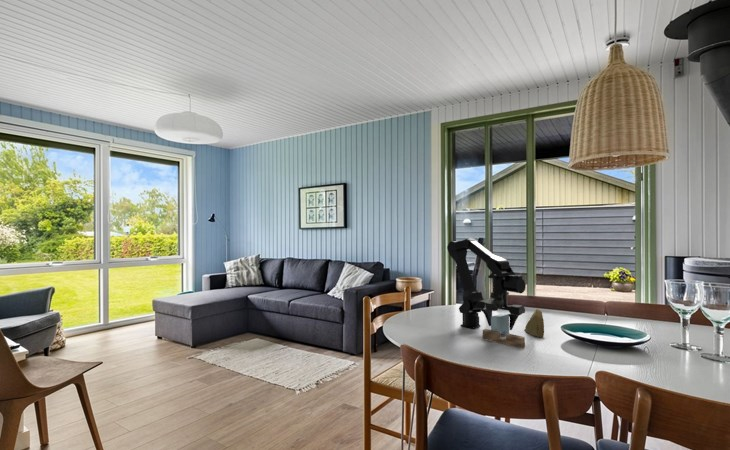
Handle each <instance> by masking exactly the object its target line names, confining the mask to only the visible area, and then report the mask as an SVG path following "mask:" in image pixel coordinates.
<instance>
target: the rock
mask: <svg viewBox="0 0 730 450" xmlns="http://www.w3.org/2000/svg"><path fill="white" fill-rule="evenodd" d="M543 317H544V316H543V312H542V311H541V310H540V309H535V311H534V312H533V313H532V315H531V316H530V318H529V319H528V321H527V323H526V325H525V328H524V331H525V333H528V334H529V335H531V336H535V337H537V338H544V336H545V335H544V334H545V325H544V324H545V323H544V321H545V320H544V318H543Z"/></svg>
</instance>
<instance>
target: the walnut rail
mask: <svg viewBox="0 0 730 450" xmlns="http://www.w3.org/2000/svg"><path fill="white" fill-rule="evenodd" d="M481 331H482V333H481V334H482V340H486V341H490V342H494V343H495V342H496V343H498V344H499V343H500V344H503V345H508V346H512V347H516V348H520V349H522V348H525V346H526V342H525V341H526V338H525V336H522V335H516V334H512V333H508V334H506V335H505V337H502V336H501V337H500V332H498V331H494V330H491V329H487V328H483V329H482V330H481Z"/></svg>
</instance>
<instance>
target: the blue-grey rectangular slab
mask: <svg viewBox="0 0 730 450" xmlns="http://www.w3.org/2000/svg"><path fill="white" fill-rule="evenodd" d="M508 314H509V313H506V312H502V313H498V314H496V315H492V317H491V326H490V330H494V331H498V332H500V337H502V335H505V336H506V335H507V334H510V327H509V325H510V317H509V315H508Z"/></svg>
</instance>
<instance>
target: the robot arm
mask: <svg viewBox="0 0 730 450" xmlns="http://www.w3.org/2000/svg"><path fill="white" fill-rule="evenodd" d="M446 247H447V248H446V249H447V251H448V254H449V256H450V258H452V259H453V260H454V262H455V266H456V269H457V272H458V275H459V279H460V281H461V285H462V289H463V295H462V301H463V302H462V304H461V305H460V306H459V307H458V310H459V313H460V314H462V316H461V317H462V324H460V327H464V328H470V329H475V328H479V327H481V324H480V316H479V313H483V314H484V317H485V319H486V321H487V322H486V323H487V324H488V326H489V327H491V317H492V316H493V312H496V311H498V310H503V311H508V312H509V313H507V314H508V315H509V331H512V330H513V329H514V326H515V323H516V321H517V320H518V317H519V316H521V315H523V314H525V313H526V308H525V306H524V305H520V304H512V305H510V302H509V301H508V295H509V294H510V293H516V294H523V293H524V292H525V291H526V288H527V285H526V281H525V280H524V279H523V275H516V273H515V272H514V271H513V269H512V267H511V265H510V262H509V260H507V259H506V258H504V257H501V256H499V255H495V254H493V252H491V251H490V250H488V249H487V248H486V247H484V246H483V245H482V244H481V243H479V242H478V241H477V240H476V239H475V238H464V239H462V240H457V241H456V240H455V241H453V240H452V241H449V242H448V244H447V246H446ZM468 250H469V251H471V252H472V253H473V254H474V255H476V257H478V258H479V259H480V260H482V261H483V262H484V263H485V265H486V267H487V269H488V270H489V271H490V272H491V273H490V274H488V276H487V278H488V279H492V292H490V296H489V297H488V298H487V299H484V298H483V297H484V296H483V292H482V291H479V290H477V288H476V287H475V284H474V281H473V278H472V274H471V270H470V268H469V265H468V262H467V255H468ZM509 292H510V293H509Z"/></svg>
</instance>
